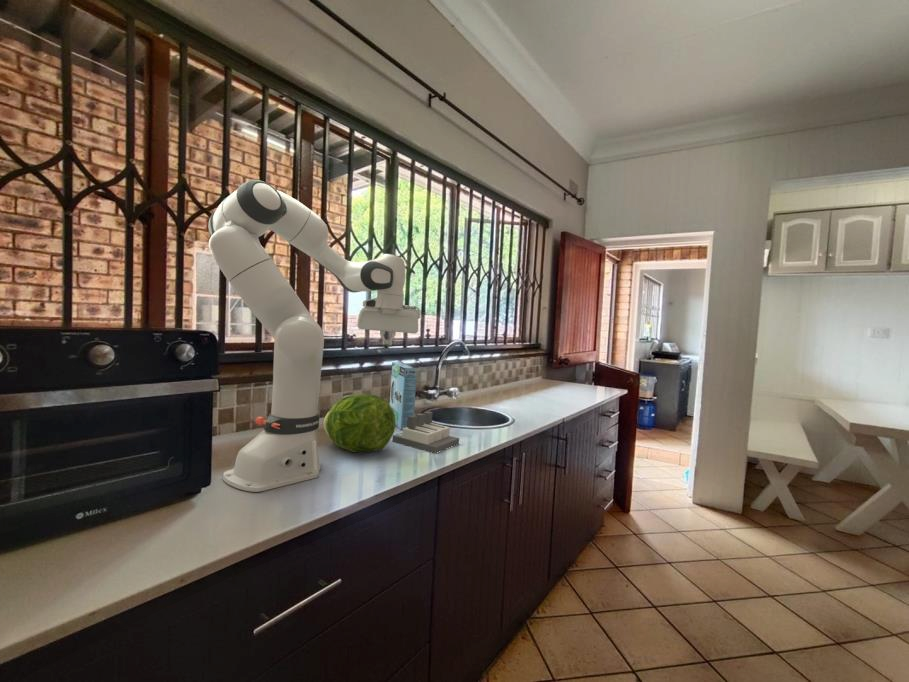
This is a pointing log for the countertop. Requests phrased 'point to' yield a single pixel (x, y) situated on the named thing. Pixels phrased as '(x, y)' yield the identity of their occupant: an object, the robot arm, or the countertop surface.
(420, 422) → the block
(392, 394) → the gum box
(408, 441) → the breaker panel
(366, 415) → the lettuce
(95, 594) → the countertop surface
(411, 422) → the breaker
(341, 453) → the countertop surface
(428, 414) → the breaker
